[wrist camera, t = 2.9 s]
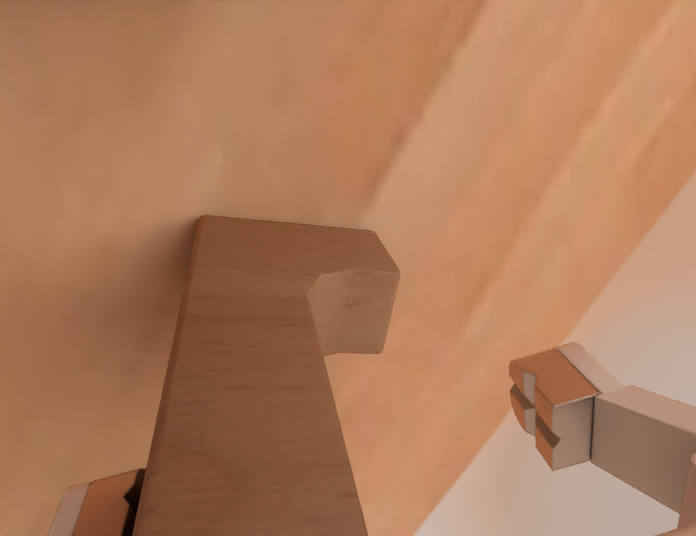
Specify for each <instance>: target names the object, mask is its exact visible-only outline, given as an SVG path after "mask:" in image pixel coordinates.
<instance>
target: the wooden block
mask: <svg viewBox="0 0 696 536" xmlns="http://www.w3.org/2000/svg"><path fill="white" fill-rule="evenodd" d="M399 279H400V270H399V269H398V267H397V266H396V264H395V263H394V261H393V259H392V258H391V256H390V255H389V253H388V252H387V250H386V249H385V247H384V246H383V244H382V243H381V241H380V239H379V238H378V236H377V235H376V233H374V232H373V231H366V230H356V229H346V228H335V227H325V226H314V225H304V224H293V223H282V222H271V221H260V220H250V219H239V218H228V217H217V216H206V215H205V216H201V217H200V219H199V221H198V225H197V230H196V235H195V239H194V244H193V249H192V254H191V258H190V263H189V268H188V273H187V277H186V282H185V287H184V292H183V296H182V301H181V306H180V311H179V315H178V320H177V325H176V330H175V334H174V339H173V344H172V349H171V353H170V358H169V363H168V368H167V372H166V377H165V382H164V387H163V391H162V396H161V401H160V406H159V410H158V415H157V420H156V425H155V429H154V434H153V439H152V444H151V448H150V453H149V458H148V463H147V467H146V472H145V477H144V482H143V486H142V491H141V496H140V501H139V505H138V510H137V515H136V520H135V524H134V529H133V534H132V536H368V533H367V529H366V525H365V521H364V517H363V513H362V509H361V505H360V501H359V497H358V493H357V489H356V486H355V482H354V478H353V474H352V470H351V466H350V462H349V458H348V454H347V450H346V446H345V442H344V438H343V434H342V430H341V426H340V422H339V418H338V414H337V410H336V406H335V402H334V398H333V394H332V390H331V386H330V382H329V378H328V374H327V370H326V366H325V362H324V358H323V357H324V356H328V355H331V354H335V353H362V354H379V353H381V352H382V351H383V347H384V343H385V339H386V335H387V330H388V326H389V322H390V318H391V313H392V309H393V305H394V301H395V296H396V292H397V288H398V284H399Z"/></svg>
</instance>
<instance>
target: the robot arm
mask: <svg viewBox="0 0 696 536" xmlns="http://www.w3.org/2000/svg"><path fill="white" fill-rule="evenodd" d="M509 376H510V377H511V378H512V380H513V381H514V382H515V383H514V385H513V387H512V388H511V390H510V395H511V403H512V407H513V410H514V413H515V415H516V417H517V419H518V421H519V423H520V425H521V426H522V428H523V429H524V431H525V432H527V433H529V434H532V435H534V436H535V437H536V448H537V449H538V450H539V452H540V454H541V455H542V456H543V458H544V459H545V461H546V462H547V463H548V465H549V466H550V468H551V469H552V471H555V470H558V469H562V468H565V467H569V466H573V465H576V464H580V463H584V462H587V461H591V463H593V464H595V465H596V466H598V467H600V468H601V469H603V470H605V471H607V472H608V473H610V474H612V475H613V476H615V477H617V478H619V479H621V480H622V481H624V482H625V483H627V484H629V485H631V486H632V487H634V488H636V489H638V490H639V491H641V492H643V493H644V494H646V495H648V496H649V497H651V498H653V499H655V500H656V501H658V502H660V503H661V504H663V505H665V506H667V507H668V508H670V509H672V510H674V511H675V512H677V513H679V514H680V516H679V522H678V527H677V529H675V530H671V531H668V532H666V533H662V534H659V535H656V536H696V407H694V406H691V405H688V404H685V403H682V402H679V401H676V400H673V399H671V398H668V397H665V396H662V395H659V394H656V393H653V392H650V391H647V390H644V389H641V388H638V387H635V386H632V385H631V386H627V387H625V386H624V385H622V384H621V383H620V382H619V381H618V380H617V379H616V378H615V377H614V376H613V375H612V374H611V373H609V372H608V371H607V370H606V369H605V368H604V367H603V366H602V365H601V364H600V363H599V362H598V361H597V360H596V359H595V358H593V357H592V356H591V355H590V354H589V353H588V352H587V351H586V350H585V349H584V348H583V347H582V346H581V345H579V344H578V343H575V342H572V343H568V344H565V345H562V346H559V347H555V348H553V349H549V350H546V351H543V352H539V353H536V354H533V355H529V356H526V357H523V358H519V359H516V360H513V361H510V364H509ZM145 472H146V469H137V470H133V471H129V472H126V473H122V474H118V475H114V476H110V477H107V478H103V479H99V480H95V481H93V482H90V483H86V484H82V485H78V486H75V487H71V488H69V489H68V490H67V491H66V492H65V493H64V494H63V497H62V499H61V502H60V504H59V507H58V509H57V512H56V515H55V517H54V520H53V522H52V525H51V527H50V530H49V533H48V535H47V536H132V534H133V529H134V524H135V520H136V515H137V510H138V505H139V501H140V496H141V491H142V486H143V482H144V477H145Z"/></svg>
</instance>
